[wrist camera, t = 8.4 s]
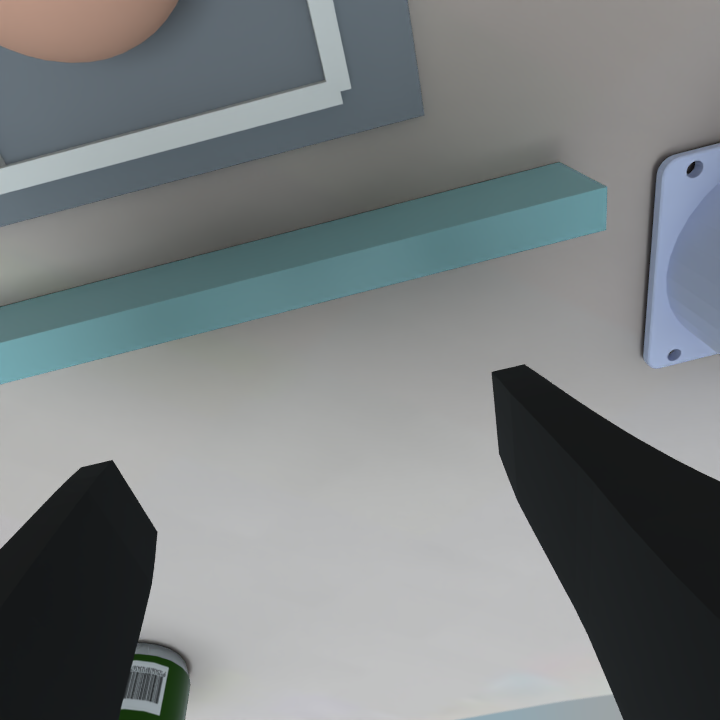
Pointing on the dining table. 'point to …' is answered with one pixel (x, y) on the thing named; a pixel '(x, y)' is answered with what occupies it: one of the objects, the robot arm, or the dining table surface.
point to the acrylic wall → (299, 269)
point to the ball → (79, 27)
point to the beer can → (156, 685)
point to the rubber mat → (201, 98)
